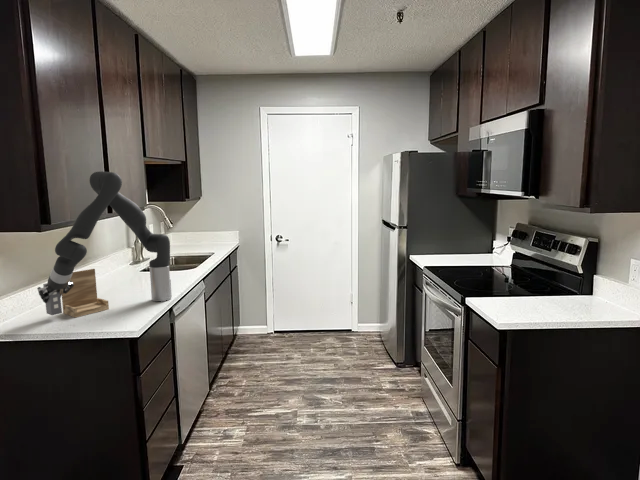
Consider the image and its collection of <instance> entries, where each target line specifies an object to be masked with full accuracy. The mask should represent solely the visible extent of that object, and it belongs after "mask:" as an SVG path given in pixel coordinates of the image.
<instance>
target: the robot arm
mask: <svg viewBox="0 0 640 480" xmlns="http://www.w3.org/2000/svg"><path fill="white" fill-rule="evenodd" d="M122 184H123V181H122V178H121V176H120V175H119V174H118V173H117V172H112V171H101V170H100V171H94V172H92V174H90V176H89V185H90V187H91V188H92V190H93V191H94V192H95V193H96V194H97V196H96V197H95V198H94V200H93V201H91V203H90V204H89V205H87V206H86V207H85V208H84V209H83V210H82V211H81V212H80V213H79V215H78V216H77V218H76V219H75V221H74V223H73V225H72V227H71V229H70V230H69V231H68V233H67V234H66V235H65V236H63V238H62V239H60V241H59V242H58V243H57V244H56V245H55V248H54V251H55V252H54V253H55V254H56V255H57V256H58V257H57V259H55V264H54V265H53V267H52V269H51V270H50V274H49V276H48V279H47V285H45V287H41V286H38V287H37V291H38V295H39V297H40V299H41V300H42V302H43V303H44V304H46V303H47V301H48V299H49V297H50V296H52V295H53V293H54V292H59V294H60V299H62V295H63V294H64V293H65V294H66V293H68V292H69V291H70V289H71V288H72V287H73V286H74V284H73V283H72V281H70V279H71V277H72V274H73V272H74V269H75V268H76V267H77V265H78V264H80V262H81V261H82V260H83V259H85V257H86V256H87V253H88V251H87V247H86V246H85V245H84V244H81V243H78V242H76V241H74V240H73V239H81V240H87V239H89V238H90V237H91V234H92V232H93V231H94V229H95V227H96V225H97V223H98V221H99V219H100V218H101V216H102V215H103V213H104V212H105V211H106V209H107V208H108V207H109V206H110V207H111V209H112V211H113V210H114V212H115V214H117V215H118V217H119V218H120V219H121V220H122V221H123V222H124V224H125V225H126V226H127V227H129V229H130V230H131V231H132V232H133V234H134V235H135V236H136V237H137V239H138V240H139V241H140V243H141V244H142V246H143V248H145V250H147V252H149V253H156V257H155V258H153V259H151V260H150V261H149V263H148V264H149V278H150V280H149V281H150V294H151V296H150V297H151V301H152V302H155V301H161V302H167V301H169V300H171V299H172V296H173V295H172V279H171V272H170V262H171V261H170V260H171V243H170V242H171V241H170V238H169V236H168V235H167V234H163V233H153V232H152V231H150V230H149V228H148V227H147V216H146V214H145V212H144V211H143V210H142V208H140V206H139V205H138V204H137V203H136V202H134V201H133V200H132V199H130V198H128V197H127V196H125V195H124V194H122V193H121V192H120V190H121V188H122ZM66 289H67V290H66ZM45 290H46V291H45ZM44 291H45V292H44ZM166 300H167V301H166Z"/></svg>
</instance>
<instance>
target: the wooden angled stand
mask: <svg viewBox="0 0 640 480" xmlns="http://www.w3.org/2000/svg"><path fill="white" fill-rule="evenodd" d="M96 278H97V277H96V269H95V268H90V269H84V270H83V269H82V270H79V271H73V274H72V277H71V279H70V281H72V283H73V284H74V286H73V287H72V288H71V289H70V291H69V292H68V293H66V294H65V293H64V294H63V295H61V306H62V313H63V314H64V315H66V316H70V317H73V318H79V317H83V316H86V315H87V316H88V315H91V314H95V313H98V312H103V311H107V310H110V306H109V305H110V303H109V300H107V299H103V298H100V297H98V291H97V290H98V289H97V282H96V281H97V279H96ZM66 290H67V289H66Z"/></svg>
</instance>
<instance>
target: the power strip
mask: <svg viewBox="0 0 640 480" xmlns="http://www.w3.org/2000/svg"><path fill="white" fill-rule="evenodd" d="M47 283H48V282H47ZM47 283H43V285H42V286H43V287H45V285H47ZM43 287H42V288H43ZM45 291H46V290H45ZM45 291H44V292H45ZM45 311H46V314H47V315H49V316H55V315H59V314H62V313H63V307H62V298H60V294H59V292H54V293H53V295H52V296H50V297H49V299H48V301H47V303H45Z"/></svg>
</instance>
